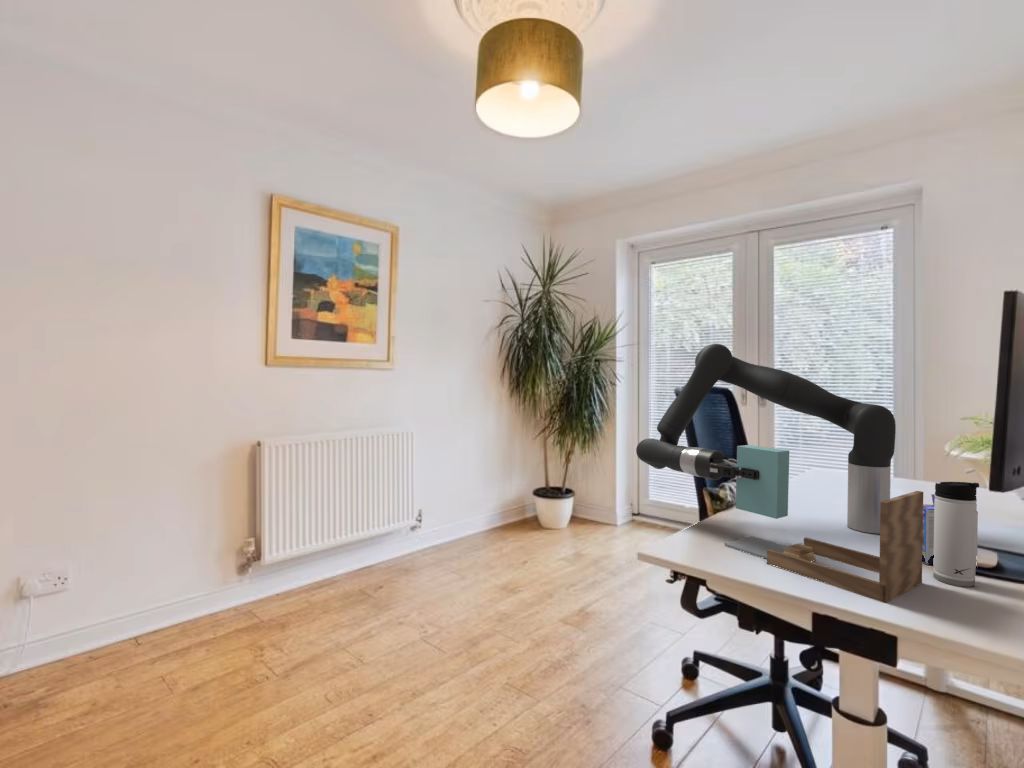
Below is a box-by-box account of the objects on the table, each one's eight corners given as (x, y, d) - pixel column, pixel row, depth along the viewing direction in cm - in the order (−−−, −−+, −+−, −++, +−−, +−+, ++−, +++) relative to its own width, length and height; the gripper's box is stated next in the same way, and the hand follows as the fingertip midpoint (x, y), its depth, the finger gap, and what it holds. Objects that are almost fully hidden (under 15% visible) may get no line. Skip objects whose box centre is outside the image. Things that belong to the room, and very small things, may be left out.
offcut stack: (798, 555, 114) (798, 542, 114) (815, 561, 110) (815, 547, 110) (781, 560, 111) (781, 546, 111) (798, 566, 107) (799, 552, 107)
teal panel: (747, 505, 123) (748, 444, 123) (787, 515, 114) (789, 450, 114) (735, 508, 120) (737, 446, 120) (776, 518, 112) (778, 452, 112)
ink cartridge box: (961, 559, 111) (963, 494, 111) (979, 569, 106) (980, 500, 105) (911, 556, 113) (912, 492, 113) (926, 565, 108) (927, 498, 107)
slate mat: (751, 537, 125) (751, 535, 125) (800, 552, 115) (800, 550, 115) (724, 545, 120) (724, 543, 120) (773, 561, 109) (773, 559, 109)
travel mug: (968, 590, 95) (970, 485, 95) (926, 578, 101) (928, 478, 100) (983, 584, 98) (985, 482, 97) (942, 572, 104) (943, 476, 103)
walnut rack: (806, 550, 117) (807, 473, 116) (921, 583, 98) (923, 491, 98) (766, 563, 108) (767, 480, 108) (885, 602, 89) (886, 502, 89)
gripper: (684, 450, 127) (747, 460, 113) (719, 446, 135) (782, 455, 120) (684, 479, 127) (746, 493, 113) (719, 474, 135) (781, 487, 120)
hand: (764, 474), depth 117 cm, fingers closed on teal panel, 4 cm apart
